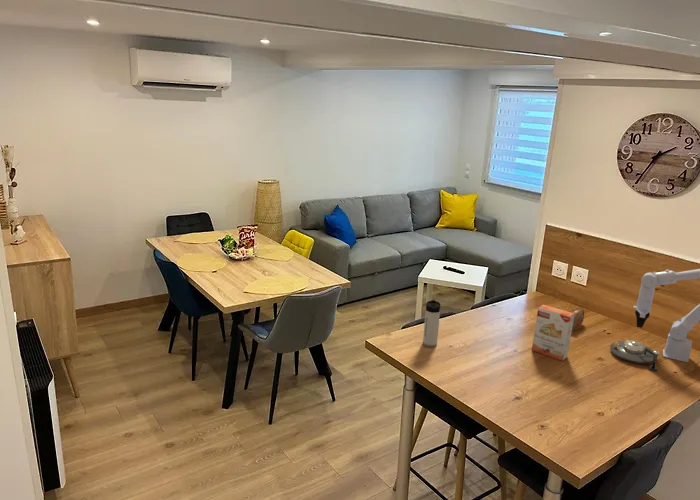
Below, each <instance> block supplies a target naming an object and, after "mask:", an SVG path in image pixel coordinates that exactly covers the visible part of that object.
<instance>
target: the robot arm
mask: <svg viewBox="0 0 700 500" xmlns="http://www.w3.org/2000/svg"><path fill="white" fill-rule="evenodd" d="M694 279H697V280H698V279H699V280H700V268H697V269H696V268H695V269H690V270H684V271H678V272H676V271H674V270H670V269H665V270H664V271H659V272H657V271H652V272H650V271H649V272H646V273H645V274H643V276H642V277H641V280H640V283H641V284H640V288H639V293H638V297H637V302H636V305H633V307H632V308H633V310H634V309H635V318H636V327H637V328H640V329H642V328H643V327H644V324H645V322H646V321H647V319H648V318H649V317H650V313H651V311H652V305H653V304H652V303H653V301H654V300H653V299H654V296H655V289H656V286H666V285H673V284H676V283H677V282H678V281H681V280H682V281H686V280H694ZM699 321H700V303H698V304H697V305H696V306H695V307H694V308H693V309H692V310H691V311H690V312H689V313H687V314H686V315H684V316H682V317H681V318H680V319H678V320H675V321H674V322H673V323H672V325H671V328H670V330H669V333H668V335H667V338H666V344H665V347H664V348H663V349H662V357H663V358H667V359H672V360H675V359H676V361H680V362H684V363H689V361H690V360H689V359H690V355H691V352H692V351H691V350H692V347H693V340H691V339H688V337H687V336H688V335H687V334H688V333H689V332H690V331H691V330H692V329H693V327H694V326H695V325H696V324H697V323H699Z"/></svg>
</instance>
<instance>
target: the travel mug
mask: <svg viewBox="0 0 700 500" xmlns="http://www.w3.org/2000/svg"><path fill="white" fill-rule="evenodd" d="M425 304H426V305H425V313H424V314H425V315H424V326H423V337H422V338H423V340H422V344H423V345H424V347H427V348H434V347H437V345H438V338H439V337H438V335H439V326H440V316H441V303H440V302H438V301H437V300H435V299H431V300H428V301H427V302H426V303H425Z"/></svg>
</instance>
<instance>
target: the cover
mask: <svg viewBox="0 0 700 500" xmlns="http://www.w3.org/2000/svg"><path fill="white" fill-rule="evenodd" d="M624 341H625V342H624V346H623V349H624V350H625V351H626V352H628V353H631V354H635V355H641V354H643V353H644V348H645V346H646V345H645V344H643V343H642V342H640V341H637V340H631V339H627V340H624Z"/></svg>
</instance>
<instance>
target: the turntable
mask: <svg viewBox="0 0 700 500" xmlns="http://www.w3.org/2000/svg"><path fill="white" fill-rule="evenodd" d="M625 341H626V340H618V341H613V342H612V343H610V348H609V350H610V352H611V353H612V354H613V355H614V356H616V357H618V358H620V359H622V360H624V361H628V362H632V363H636V364H652V363H653V358H654V355H652V354H650V353H649V352H646V355H645V354H644V353H643V354H641V355H635V354H631V353H628V352H626V351H625V350H624V349H623V346H624V342H625ZM644 346H645V348H647V349H649V350H651V351H652V352H653V351H654V349H652V348H650V347H648V346H646V345H644ZM645 348H644V351H645Z"/></svg>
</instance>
